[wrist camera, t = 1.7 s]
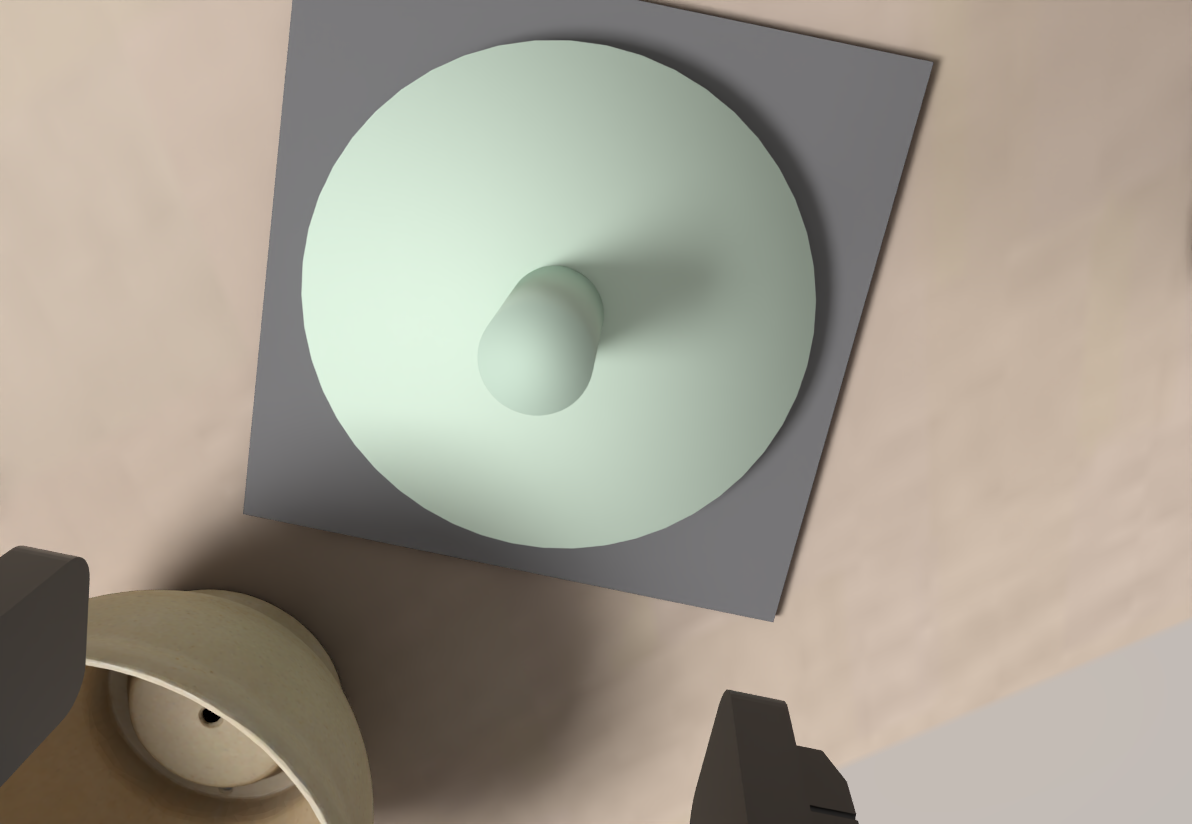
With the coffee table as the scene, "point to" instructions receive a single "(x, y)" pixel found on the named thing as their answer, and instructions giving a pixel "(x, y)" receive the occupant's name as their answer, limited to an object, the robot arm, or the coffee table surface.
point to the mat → (739, 80)
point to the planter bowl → (198, 722)
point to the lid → (558, 294)
